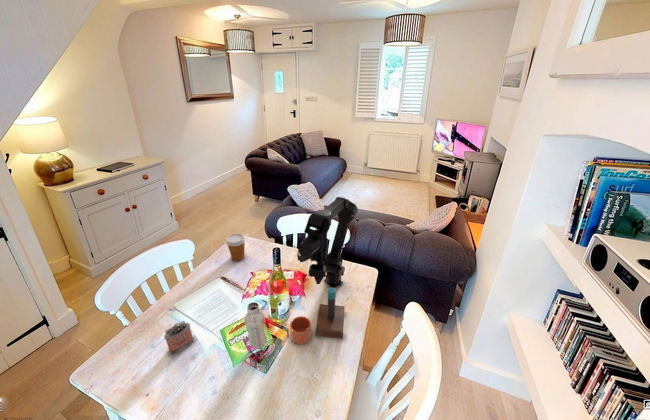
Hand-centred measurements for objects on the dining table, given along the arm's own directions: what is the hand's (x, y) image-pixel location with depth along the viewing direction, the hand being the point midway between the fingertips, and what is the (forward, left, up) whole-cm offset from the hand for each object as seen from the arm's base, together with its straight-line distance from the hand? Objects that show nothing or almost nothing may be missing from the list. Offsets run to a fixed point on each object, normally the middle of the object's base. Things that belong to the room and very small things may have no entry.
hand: (319, 276), depth 109 cm
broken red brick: (+52, -8, -13) cm, 54 cm away
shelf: (+3, +13, -13) cm, 19 cm away
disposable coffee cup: (+19, -49, -13) cm, 54 cm away
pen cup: (+15, +11, -13) cm, 23 cm away
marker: (+3, +13, -9) cm, 16 cm away
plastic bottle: (+30, +8, -13) cm, 34 cm away
